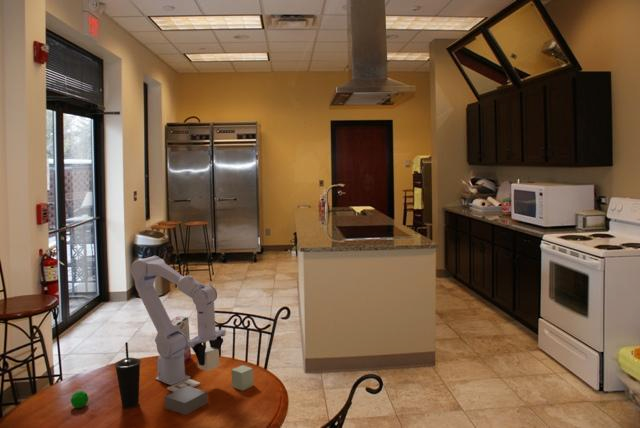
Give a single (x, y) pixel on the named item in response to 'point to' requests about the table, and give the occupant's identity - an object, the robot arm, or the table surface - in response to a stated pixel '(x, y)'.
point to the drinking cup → (128, 380)
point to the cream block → (210, 359)
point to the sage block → (242, 377)
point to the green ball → (79, 399)
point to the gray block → (185, 400)
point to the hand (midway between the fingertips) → (208, 362)
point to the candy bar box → (184, 327)
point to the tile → (183, 385)
